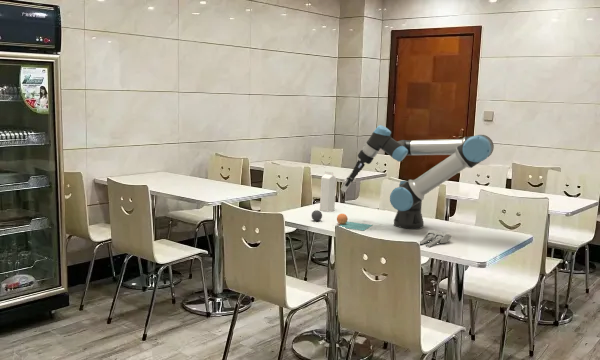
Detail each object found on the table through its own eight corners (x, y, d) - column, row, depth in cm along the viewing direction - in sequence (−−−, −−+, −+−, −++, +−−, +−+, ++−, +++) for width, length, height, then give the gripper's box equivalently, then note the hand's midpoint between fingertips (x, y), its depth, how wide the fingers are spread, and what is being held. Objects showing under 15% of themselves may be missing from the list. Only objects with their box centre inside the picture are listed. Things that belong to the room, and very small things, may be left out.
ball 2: (348, 224, 301) (349, 213, 300) (345, 225, 296) (345, 215, 295) (338, 222, 303) (339, 212, 302) (334, 224, 298) (335, 213, 297)
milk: (327, 212, 329) (329, 173, 326) (319, 210, 333) (321, 171, 330) (334, 210, 334) (336, 172, 330) (326, 209, 338) (328, 171, 335)
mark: (372, 225, 300) (372, 224, 300) (363, 230, 287) (363, 230, 287) (346, 221, 305) (346, 221, 305) (336, 226, 293) (336, 226, 293)
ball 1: (323, 220, 306) (324, 210, 306) (319, 222, 301) (319, 211, 301) (313, 219, 309) (314, 208, 308) (309, 221, 304) (310, 210, 303)
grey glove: (412, 249, 265) (412, 239, 264) (434, 236, 279) (434, 226, 278) (432, 253, 258) (432, 243, 257) (454, 240, 272) (454, 230, 271)
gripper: (364, 144, 305) (342, 176, 312) (358, 154, 281) (334, 189, 288) (376, 152, 304) (354, 184, 311) (371, 163, 281) (347, 198, 288)
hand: (344, 187), depth 300 cm, fingers open, 13 cm apart
